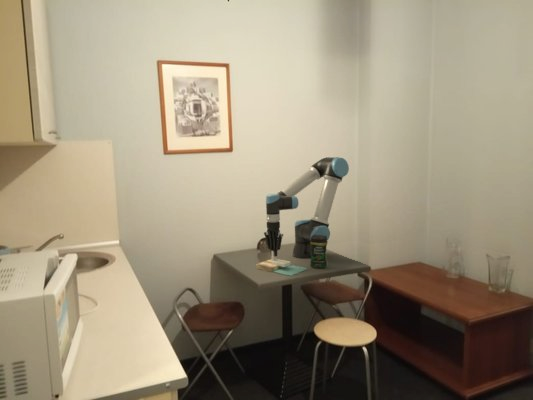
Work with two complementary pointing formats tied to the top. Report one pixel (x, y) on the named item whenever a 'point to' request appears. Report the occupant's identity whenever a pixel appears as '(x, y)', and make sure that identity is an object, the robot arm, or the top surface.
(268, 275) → the top surface
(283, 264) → the card
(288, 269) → the mat
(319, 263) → the coffee jar
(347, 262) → the top surface
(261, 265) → the tan flat block
